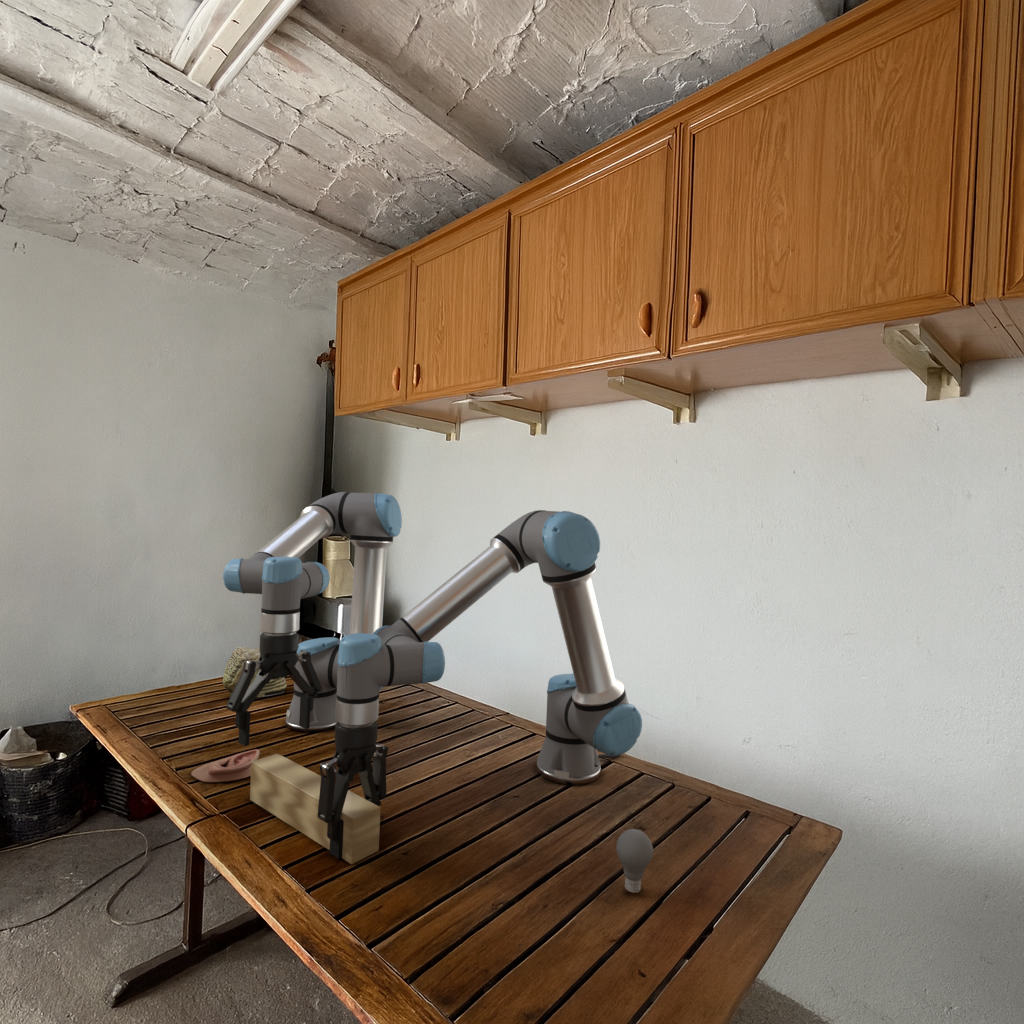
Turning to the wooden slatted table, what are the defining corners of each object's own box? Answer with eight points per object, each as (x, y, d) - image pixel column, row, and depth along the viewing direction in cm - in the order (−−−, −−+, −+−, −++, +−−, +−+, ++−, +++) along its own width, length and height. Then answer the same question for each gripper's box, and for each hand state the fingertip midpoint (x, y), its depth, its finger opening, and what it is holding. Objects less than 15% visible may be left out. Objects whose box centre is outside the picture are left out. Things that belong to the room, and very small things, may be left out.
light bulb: (610, 879, 108) (613, 822, 108) (644, 879, 109) (647, 822, 109) (619, 902, 102) (622, 840, 102) (655, 901, 103) (658, 840, 103)
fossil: (218, 695, 195) (220, 647, 195) (278, 685, 208) (279, 640, 207) (228, 703, 189) (230, 653, 188) (289, 692, 201) (290, 645, 201)
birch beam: (249, 799, 131) (251, 761, 131) (276, 790, 136) (277, 753, 136) (351, 864, 110) (353, 819, 110) (378, 850, 115) (380, 806, 114)
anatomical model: (182, 760, 139) (216, 741, 150) (181, 778, 139) (216, 758, 150) (236, 768, 136) (267, 748, 147) (235, 786, 136) (266, 765, 147)
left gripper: (321, 622, 142) (316, 716, 142) (210, 637, 123) (205, 746, 123) (341, 627, 138) (337, 725, 138) (229, 643, 118) (225, 757, 118)
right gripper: (384, 704, 124) (379, 821, 124) (298, 728, 109) (292, 861, 110) (410, 713, 119) (405, 835, 120) (324, 740, 104) (318, 879, 105)
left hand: (275, 735), depth 130 cm, fingers open, 13 cm apart
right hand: (351, 847), depth 115 cm, fingers closed on birch beam, 6 cm apart
